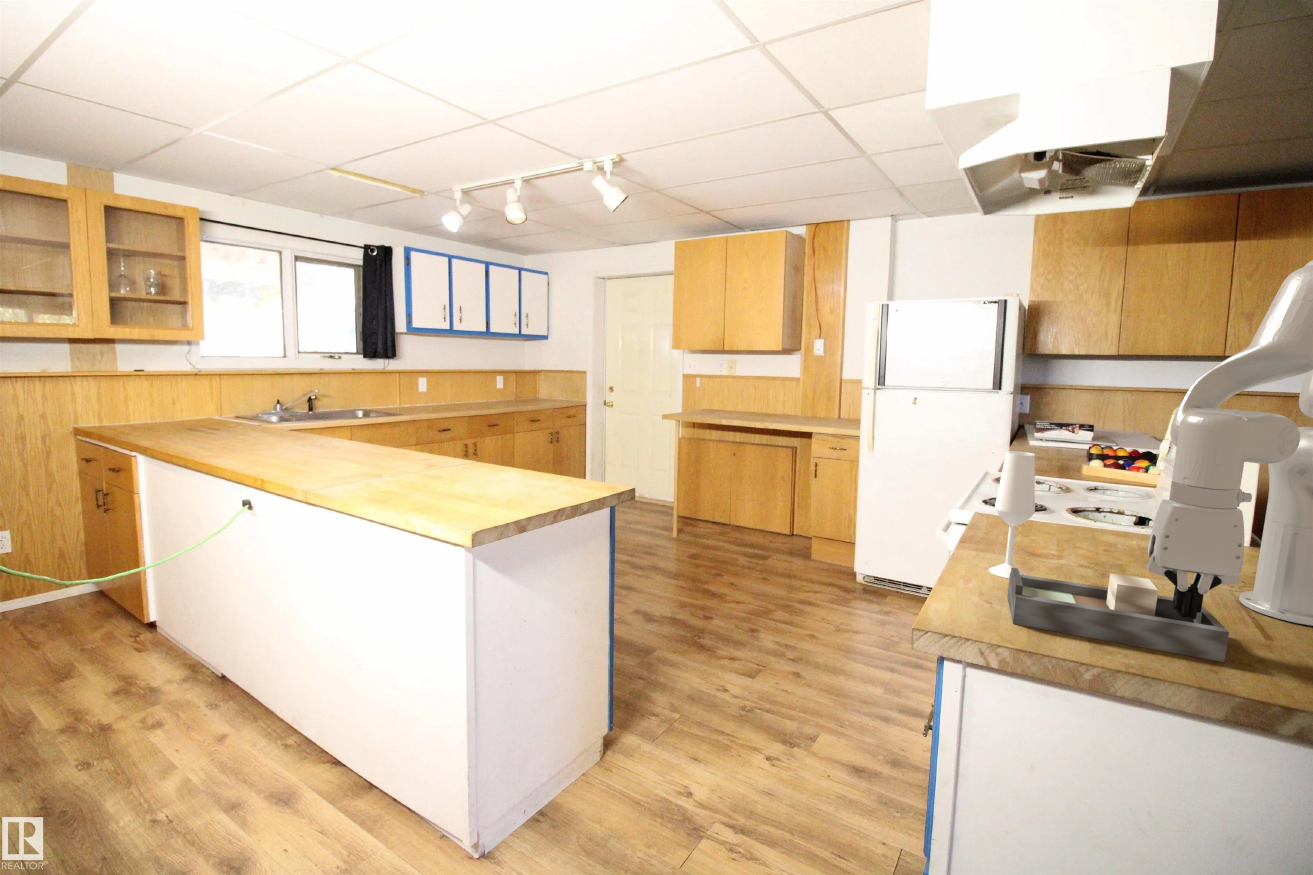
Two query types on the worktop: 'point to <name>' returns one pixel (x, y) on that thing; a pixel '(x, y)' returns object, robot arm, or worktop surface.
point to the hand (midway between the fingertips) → (1185, 614)
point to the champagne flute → (1015, 500)
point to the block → (1132, 595)
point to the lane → (1112, 618)
